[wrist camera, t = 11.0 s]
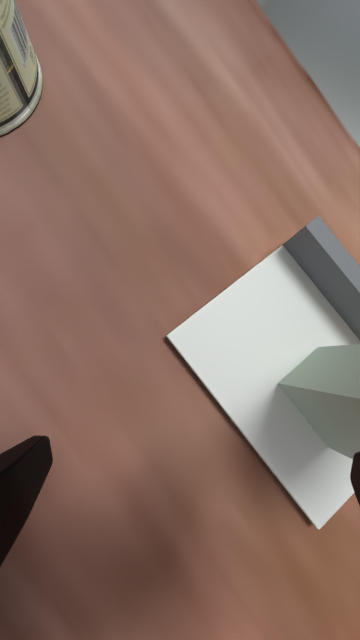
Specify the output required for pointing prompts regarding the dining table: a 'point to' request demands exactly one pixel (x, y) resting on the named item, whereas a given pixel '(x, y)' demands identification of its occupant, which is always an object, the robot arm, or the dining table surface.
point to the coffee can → (16, 69)
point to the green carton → (329, 395)
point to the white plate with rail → (280, 357)
